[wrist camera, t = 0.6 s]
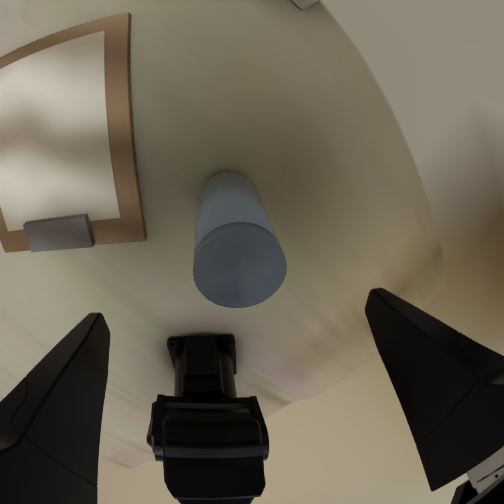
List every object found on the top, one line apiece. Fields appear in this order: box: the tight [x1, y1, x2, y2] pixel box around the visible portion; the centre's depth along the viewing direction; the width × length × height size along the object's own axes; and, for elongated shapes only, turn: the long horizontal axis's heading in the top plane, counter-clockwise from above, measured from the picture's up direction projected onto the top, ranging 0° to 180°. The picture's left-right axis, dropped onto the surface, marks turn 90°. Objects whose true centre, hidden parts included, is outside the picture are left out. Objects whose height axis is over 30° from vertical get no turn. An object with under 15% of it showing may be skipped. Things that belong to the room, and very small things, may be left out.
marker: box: [193, 172, 287, 308], centre depth 16 cm, size 4×4×9 cm
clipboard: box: [0, 12, 147, 253], centre depth 15 cm, size 16×14×1 cm
